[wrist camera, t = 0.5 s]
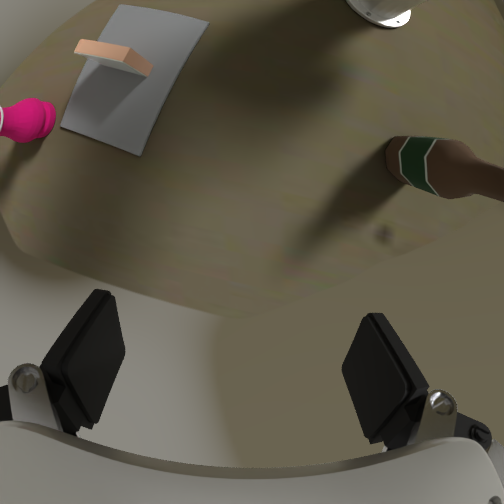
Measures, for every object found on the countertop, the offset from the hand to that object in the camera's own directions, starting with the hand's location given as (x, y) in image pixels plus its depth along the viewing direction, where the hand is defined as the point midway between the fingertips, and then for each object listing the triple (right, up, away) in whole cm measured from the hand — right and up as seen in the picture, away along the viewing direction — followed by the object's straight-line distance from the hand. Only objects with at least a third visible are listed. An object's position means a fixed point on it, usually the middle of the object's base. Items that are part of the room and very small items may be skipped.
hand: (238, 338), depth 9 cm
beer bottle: (+24, +18, +26) cm, 40 cm away
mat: (-17, +29, +20) cm, 39 cm away
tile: (-17, +30, +19) cm, 39 cm away
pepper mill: (-34, +25, +21) cm, 47 cm away
